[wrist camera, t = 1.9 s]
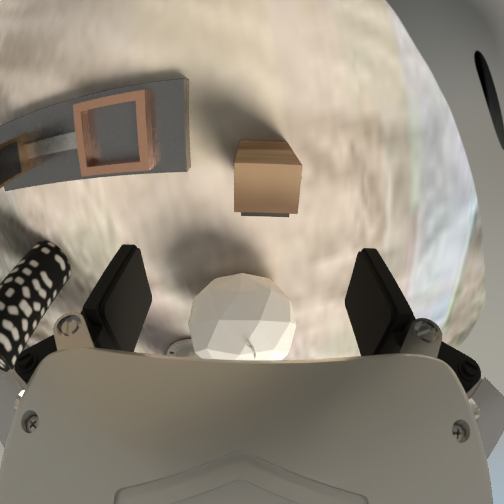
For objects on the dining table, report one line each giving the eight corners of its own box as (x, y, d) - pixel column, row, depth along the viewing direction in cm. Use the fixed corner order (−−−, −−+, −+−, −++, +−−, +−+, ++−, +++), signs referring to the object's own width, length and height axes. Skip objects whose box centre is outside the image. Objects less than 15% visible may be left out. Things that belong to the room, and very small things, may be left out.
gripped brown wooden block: (240, 140, 28) (234, 162, 20) (286, 141, 28) (302, 165, 20) (239, 181, 31) (234, 221, 22) (284, 182, 31) (296, 222, 22)
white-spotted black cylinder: (34, 232, 34) (-40, 317, 17) (72, 253, 36) (3, 352, 19) (34, 269, 38) (-24, 351, 21) (69, 289, 40) (17, 380, 23)
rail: (190, 166, 30) (158, 211, 20) (12, 186, 29) (-38, 223, 19) (188, 79, 24) (148, 74, 14) (2, 125, 24) (-55, 151, 14)
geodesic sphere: (175, 252, 29) (169, 383, 24) (305, 252, 29) (309, 385, 24) (199, 283, 43) (197, 372, 38) (288, 284, 43) (290, 373, 38)
